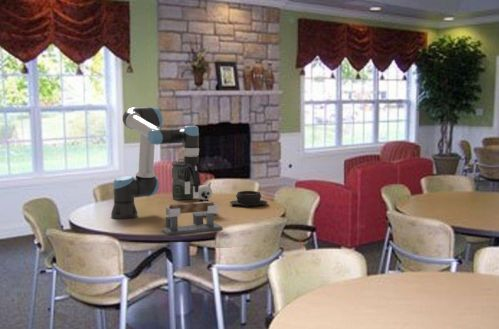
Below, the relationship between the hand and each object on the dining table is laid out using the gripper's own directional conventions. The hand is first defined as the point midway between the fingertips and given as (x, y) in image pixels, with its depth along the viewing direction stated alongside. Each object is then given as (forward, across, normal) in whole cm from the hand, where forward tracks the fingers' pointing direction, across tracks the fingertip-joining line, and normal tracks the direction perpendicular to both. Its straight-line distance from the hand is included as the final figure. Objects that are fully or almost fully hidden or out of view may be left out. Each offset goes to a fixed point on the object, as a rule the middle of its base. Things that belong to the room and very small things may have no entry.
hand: (191, 196), depth 281 cm
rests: (+18, +12, 0) cm, 22 cm away
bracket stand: (+18, -1, 0) cm, 18 cm away
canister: (+20, +93, -26) cm, 99 cm away
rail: (+8, 0, 0) cm, 8 cm away
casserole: (+19, +51, -57) cm, 79 cm away
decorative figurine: (+19, +35, -20) cm, 45 cm away
